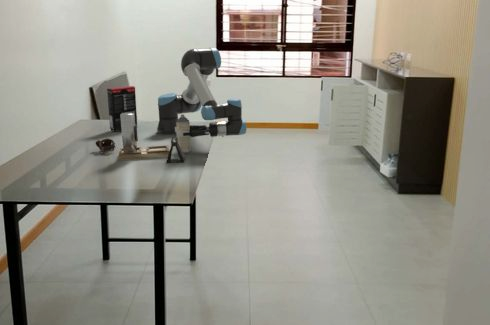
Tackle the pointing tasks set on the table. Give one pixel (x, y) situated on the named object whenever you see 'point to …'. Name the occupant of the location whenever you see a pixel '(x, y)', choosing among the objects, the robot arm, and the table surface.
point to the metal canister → (129, 132)
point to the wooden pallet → (145, 153)
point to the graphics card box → (121, 105)
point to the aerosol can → (185, 141)
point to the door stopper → (177, 151)
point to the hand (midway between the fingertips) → (175, 132)
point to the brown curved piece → (105, 145)
